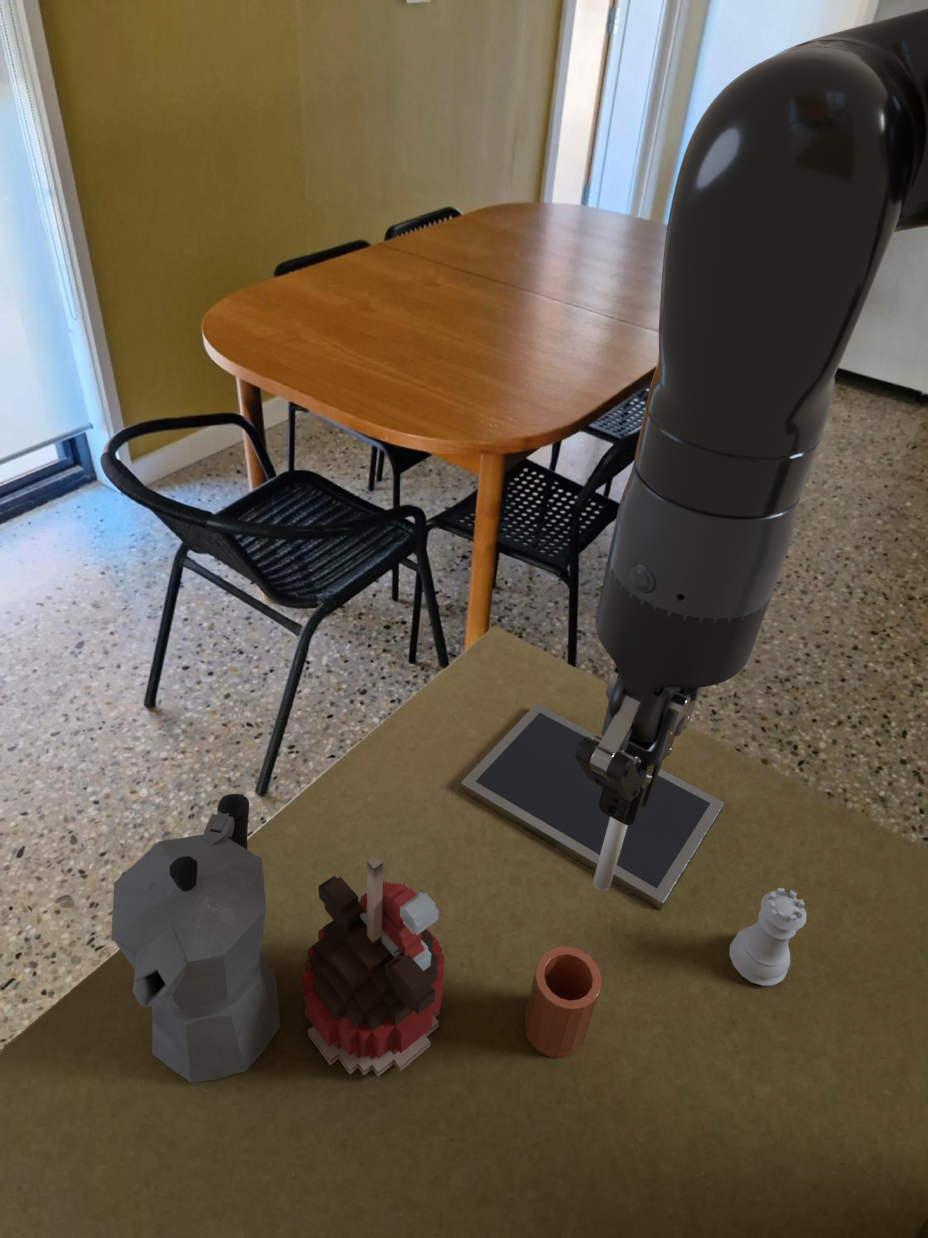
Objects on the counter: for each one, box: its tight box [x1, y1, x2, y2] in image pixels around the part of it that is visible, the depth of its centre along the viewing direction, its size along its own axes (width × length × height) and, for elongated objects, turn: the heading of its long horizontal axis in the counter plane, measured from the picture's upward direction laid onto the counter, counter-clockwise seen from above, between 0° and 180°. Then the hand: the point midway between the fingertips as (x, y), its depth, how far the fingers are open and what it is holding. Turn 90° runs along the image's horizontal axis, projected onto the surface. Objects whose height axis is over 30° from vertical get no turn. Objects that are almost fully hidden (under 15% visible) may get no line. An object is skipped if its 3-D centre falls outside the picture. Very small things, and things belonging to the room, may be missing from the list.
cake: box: [301, 854, 446, 1078], centre depth 58 cm, size 11×9×18 cm
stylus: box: [592, 757, 641, 892], centre depth 52 cm, size 1×1×13 cm
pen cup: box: [523, 945, 602, 1059], centre depth 62 cm, size 4×4×7 cm
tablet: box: [459, 703, 725, 910], centre depth 80 cm, size 20×13×1 cm, turn 55°
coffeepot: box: [110, 793, 282, 1084], centre depth 58 cm, size 15×9×18 cm, turn 172°
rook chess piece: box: [729, 887, 807, 987], centre depth 66 cm, size 4×4×8 cm
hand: (624, 805), depth 51 cm, fingers closed on stylus, 1 cm apart
